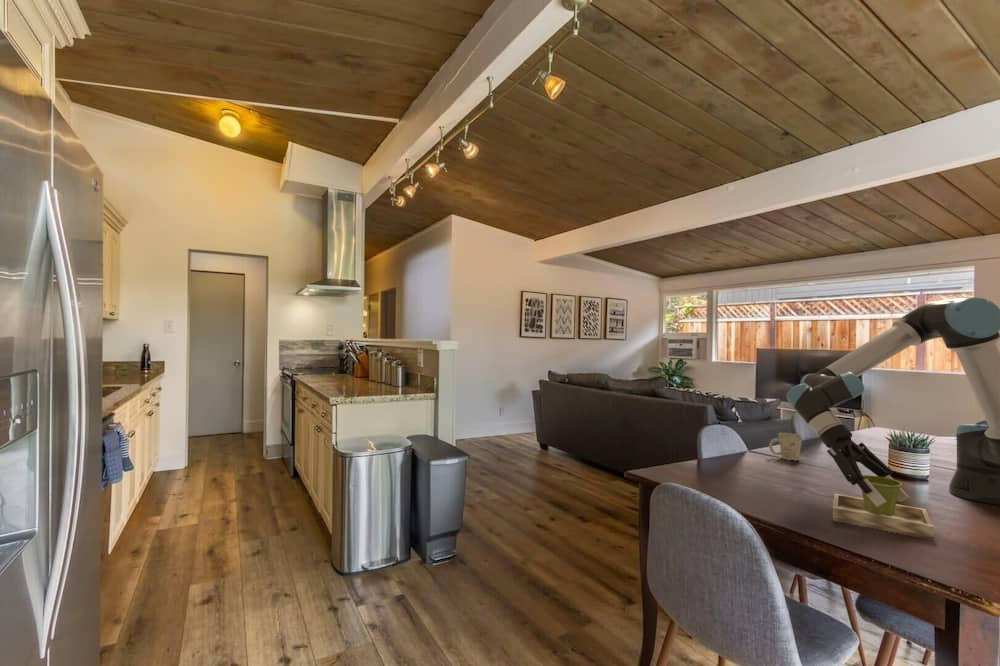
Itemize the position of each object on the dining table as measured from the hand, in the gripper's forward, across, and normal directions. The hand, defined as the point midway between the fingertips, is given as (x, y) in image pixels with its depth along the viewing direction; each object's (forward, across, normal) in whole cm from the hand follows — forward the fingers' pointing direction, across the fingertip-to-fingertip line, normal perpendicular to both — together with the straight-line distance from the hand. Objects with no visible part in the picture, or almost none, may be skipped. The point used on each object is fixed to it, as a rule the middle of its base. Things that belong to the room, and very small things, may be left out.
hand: (893, 501), depth 123 cm
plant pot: (+1, 0, -5) cm, 5 cm away
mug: (-37, -40, -46) cm, 71 cm away
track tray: (+2, 0, -7) cm, 7 cm away
